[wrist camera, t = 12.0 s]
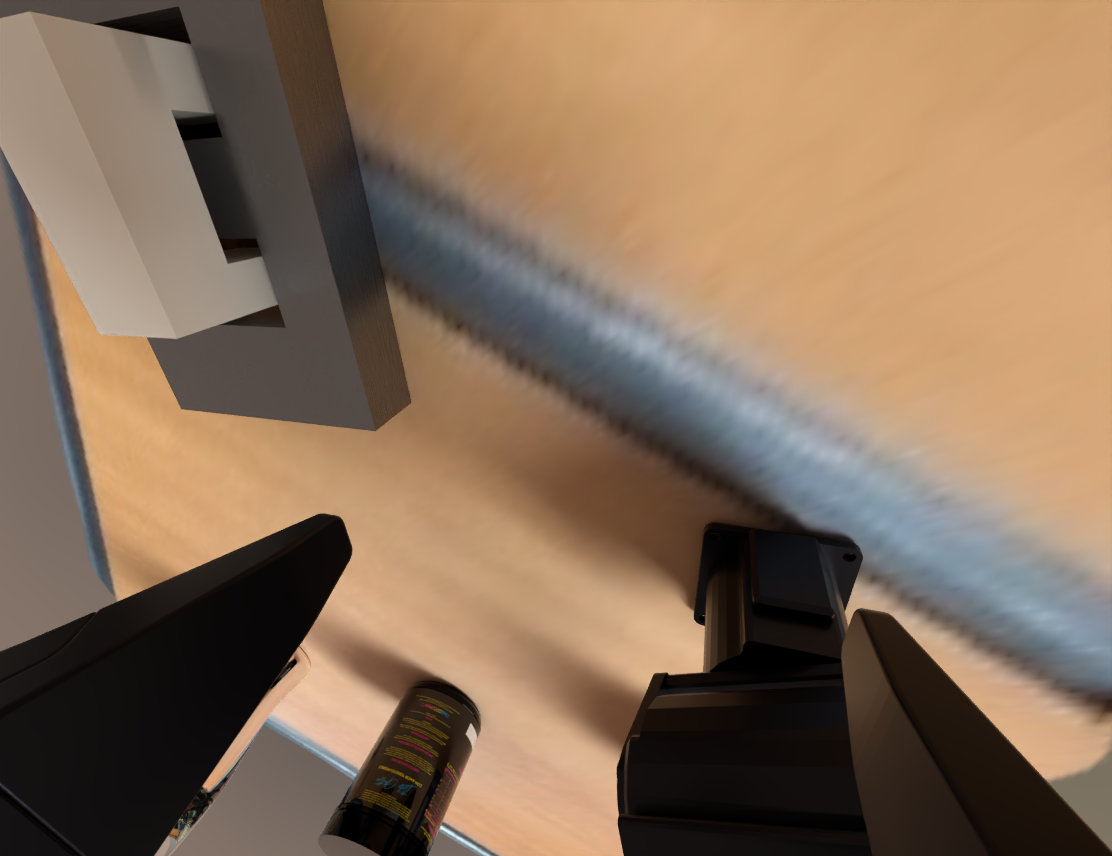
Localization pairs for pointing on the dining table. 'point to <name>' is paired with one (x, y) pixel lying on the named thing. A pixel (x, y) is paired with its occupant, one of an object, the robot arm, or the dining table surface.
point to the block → (121, 175)
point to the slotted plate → (275, 215)
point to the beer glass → (237, 751)
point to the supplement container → (406, 777)
